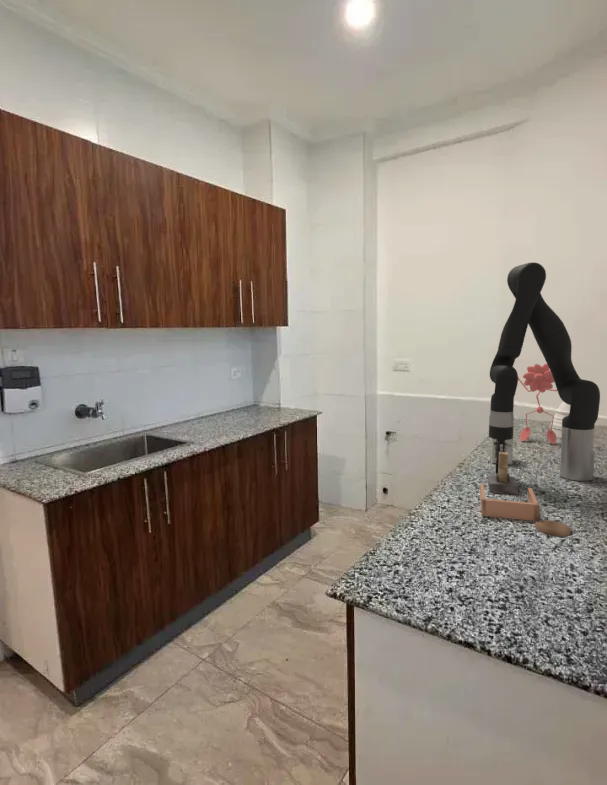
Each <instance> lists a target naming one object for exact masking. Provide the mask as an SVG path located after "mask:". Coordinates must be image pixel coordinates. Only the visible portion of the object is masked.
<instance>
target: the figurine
mask: <svg viewBox="0 0 607 785" xmlns="http://www.w3.org/2000/svg"><path fill="white" fill-rule="evenodd" d="M526 370H527V372H526V373H524V374H523V376H522V378H524V382H523V381H522V380H521V379H520V377H519V376H518V382H520V384H521V385H522V386H523V388H524V389H525V390H526V391H527V392H530V393H531V392H533V393H534V392H536V391H538V393H537V394H536V401H537V403H538V406H537V408H536V410H533V411H530V412H527V413H525V422H526V423H525V425H526V427H524V428H523V429H522V430H521V431H520V433H519V438H520V442H521V443H522V442H524V441H526V440H527V441H528V440H530V439H529V437H530V435H531V429H530V427H528V415H529V414H532V413H536V412H537V413H538V414H541V413H545V414H547V415H549V416H552V421H551V422H552V425H553V419H554V416H555V415H553V414H550V413H549V412H547V411H544V408H543V407H542V406H541V404H540V401H539V395H540V393H542V394H543V393H545V392H546V391H550V392H558V391H557V389H553V387H554V386H553V383H555V382H554V378H553V376H552V373H551V371H550V368H549V366H548V364H547V363H545V364H543V365H540V364H538V363H535V364H534V366H531V365H529V366H527V367H526ZM527 386H529V389H528V387H527ZM552 425H551V424H550V429H548V430H547V431H546V438H547V440H548V441H549V442H550V444H552V445H553V446H554V445H555V444H556V441H557V437H556V434H555V433H554V431H552ZM523 447H526V445H525V446H524V445H523ZM529 448H530V449H532V447H530V446H529V447H528V449H529ZM534 449H535V450H540V448H538V447H535V448H534ZM558 449H559V450H561V447H559V448H558ZM549 450H551V451H553V448H549Z"/></svg>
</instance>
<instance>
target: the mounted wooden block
mask: <svg viewBox="0 0 607 785" xmlns="http://www.w3.org/2000/svg"><path fill="white" fill-rule="evenodd" d="M508 465H509V464H508V452H499V464H498V473H496V472H495V475H491V474H490V475H487V476H488V477H487V478H488V482H487V484H488V491H489V493H491V494H492V493H494V494H506V495H518V491H519V490H518V489H519V485H518V482H517V479H516V477H515V476H510V474H509V473H508V472H509V470H508V469H509V468H508V467H509V466H508Z"/></svg>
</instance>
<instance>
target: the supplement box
mask: <svg viewBox="0 0 607 785" xmlns="http://www.w3.org/2000/svg"><path fill="white" fill-rule="evenodd" d="M494 442H496V439H492V438H491V449H490V451H491V452H490V453H491V454H490V459H491V460H490V461H491V463H492V464H496V463H495V460H496V459H495V455H494ZM505 443H506V445H507V450H506V452H508V465H513V456H514V455H513V454H514V453H513V452H514V437H513V438H512V439H510V440H505Z"/></svg>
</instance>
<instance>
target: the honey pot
mask: <svg viewBox="0 0 607 785" xmlns="http://www.w3.org/2000/svg"><path fill="white" fill-rule="evenodd" d="M569 413H570V405H569V404H566V403H565V402H563V401H562V402H561V403H560V405H559V407H558V408H556V409H555V413H554V415H553V416H554V419H553V418H552V419H553V425H552V421H551V423H550V426H551V425H552V431H554V433H555V434H556V438H560V439H561V436H562V419H563V418H564V417H566V416H568V415H569Z"/></svg>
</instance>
